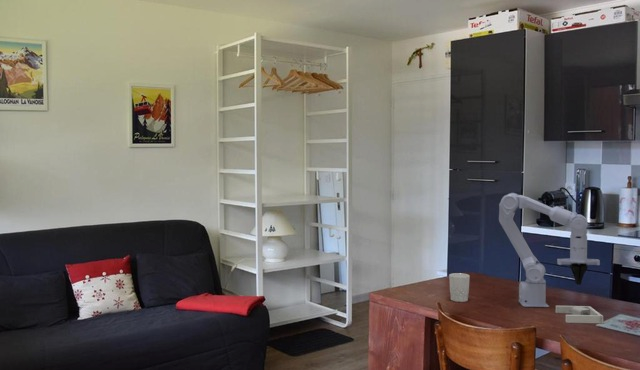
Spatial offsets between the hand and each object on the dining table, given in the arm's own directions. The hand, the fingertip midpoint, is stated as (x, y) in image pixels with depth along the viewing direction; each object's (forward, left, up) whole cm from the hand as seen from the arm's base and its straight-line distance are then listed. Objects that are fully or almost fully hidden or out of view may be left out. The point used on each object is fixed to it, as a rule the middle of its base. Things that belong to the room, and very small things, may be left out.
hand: (578, 283), depth 214 cm
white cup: (-42, +10, -10) cm, 44 cm away
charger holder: (-4, -12, -9) cm, 16 cm away
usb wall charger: (-4, -13, -10) cm, 16 cm away
